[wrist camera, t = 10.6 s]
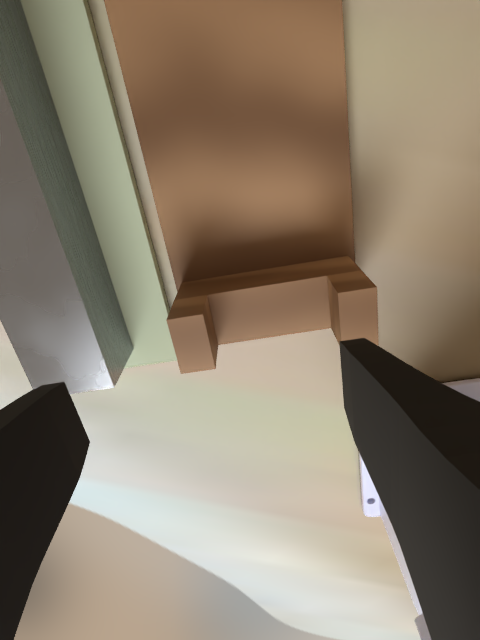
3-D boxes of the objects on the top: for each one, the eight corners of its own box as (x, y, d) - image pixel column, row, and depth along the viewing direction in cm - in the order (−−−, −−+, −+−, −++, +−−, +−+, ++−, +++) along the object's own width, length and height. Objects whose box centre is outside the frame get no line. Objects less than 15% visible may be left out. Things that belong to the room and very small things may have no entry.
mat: (181, 354, 21) (180, 360, 21) (39, 375, 22) (34, 381, 21) (41, -172, 13) (32, -186, 12) (-181, -116, 13) (-199, -126, 13)
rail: (133, 348, 20) (113, 387, 17) (69, 358, 21) (37, 398, 17) (-22, -129, 13) (-108, -216, 10) (-120, -104, 13) (-235, -181, 10)
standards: (353, 311, 20) (386, 361, 15) (192, 335, 21) (178, 391, 16) (325, -198, 13) (373, -387, 8) (75, -136, 13) (-12, -279, 9)
